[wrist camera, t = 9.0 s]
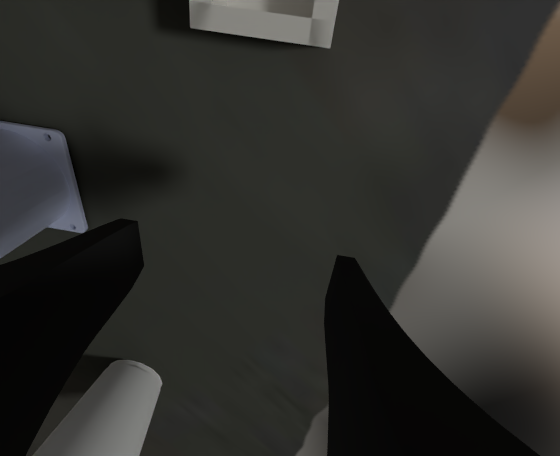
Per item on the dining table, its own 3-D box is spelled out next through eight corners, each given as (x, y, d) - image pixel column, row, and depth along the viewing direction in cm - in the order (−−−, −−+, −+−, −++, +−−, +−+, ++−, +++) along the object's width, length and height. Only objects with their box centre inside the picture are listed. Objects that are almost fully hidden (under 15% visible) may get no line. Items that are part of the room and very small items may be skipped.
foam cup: (141, 407, 39) (69, 552, 28) (79, 366, 35) (-30, 513, 24) (191, 387, 35) (131, 546, 24) (127, 339, 32) (24, 499, 21)
